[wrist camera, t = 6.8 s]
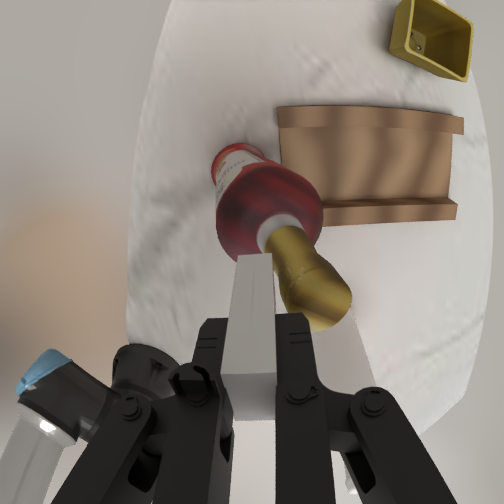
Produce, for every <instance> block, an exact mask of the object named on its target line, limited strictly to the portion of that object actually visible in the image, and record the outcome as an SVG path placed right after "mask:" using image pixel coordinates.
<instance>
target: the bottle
mask: <svg viewBox="0 0 504 504" xmlns="http://www.w3.org/2000/svg"><path fill="white" fill-rule="evenodd" d="M311 336H312V343H313V348H314V354H315V361H316V367H317V374H318V377H319V380H320V381H321V382H322V384H323V385H324V386H326V387H327V388H328V389H330V390H332V391H336V392H339V393H346V394H353V395H355V393H356V392H358V391H359V390H361V389H363V388H367V387H376V383H375V380H374V377H373V374H372V370H371V367H370V364H369V361H368V358H367V355H366V352H365V349H364V346H363V343H362V340H361V337H360V334H359V331H358V328H357V325H356V322H355V317H354V315H353V313H352V311H351V308H349V310H348V312H347V313H346V315H345V316H344V317H343V318H342V319H341V320H340V321H339V322H338V323H337V324H335V325H334V326H332V327H330V328H328V329H325V330H322V331H319V332H311ZM344 465H345V463H344ZM345 472H346V482H345V483H346V486H347V488H348V493H350V494H358V492H357V490H356V488H355V485H354V483H353V481H352V479H351V476H350V474H349V472H348V470H347V467H346V465H345Z"/></svg>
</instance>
